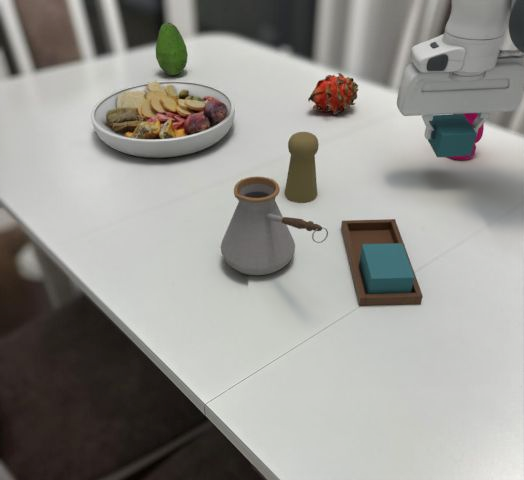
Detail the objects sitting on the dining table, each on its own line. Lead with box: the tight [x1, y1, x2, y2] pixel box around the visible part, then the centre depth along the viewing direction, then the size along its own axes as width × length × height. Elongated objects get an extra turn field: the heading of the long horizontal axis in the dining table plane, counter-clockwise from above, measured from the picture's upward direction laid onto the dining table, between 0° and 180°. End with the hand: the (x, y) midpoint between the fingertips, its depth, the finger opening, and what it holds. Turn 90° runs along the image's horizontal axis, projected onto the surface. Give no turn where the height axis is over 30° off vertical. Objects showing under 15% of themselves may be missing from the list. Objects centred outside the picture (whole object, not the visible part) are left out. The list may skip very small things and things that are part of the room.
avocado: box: [155, 21, 189, 76], centre depth 133 cm, size 8×8×12 cm
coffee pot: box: [220, 175, 329, 276], centre depth 75 cm, size 21×12×15 cm, turn 31°
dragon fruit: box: [307, 72, 359, 116], centre depth 118 cm, size 8×8×12 cm
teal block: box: [359, 243, 415, 294], centre depth 77 cm, size 6×8×4 cm
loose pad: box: [426, 114, 477, 158], centre depth 94 cm, size 6×8×4 cm
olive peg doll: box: [284, 131, 319, 204], centre depth 93 cm, size 6×6×11 cm
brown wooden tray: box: [340, 218, 423, 307], centre depth 81 cm, size 9×19×2 cm, turn 2°
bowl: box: [90, 80, 236, 159], centre depth 112 cm, size 30×30×8 cm
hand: (449, 136), depth 94 cm, fingers closed on loose pad, 6 cm apart
